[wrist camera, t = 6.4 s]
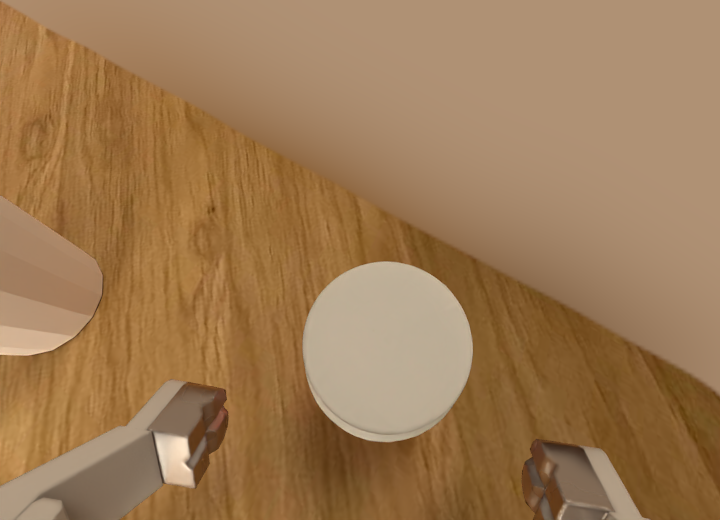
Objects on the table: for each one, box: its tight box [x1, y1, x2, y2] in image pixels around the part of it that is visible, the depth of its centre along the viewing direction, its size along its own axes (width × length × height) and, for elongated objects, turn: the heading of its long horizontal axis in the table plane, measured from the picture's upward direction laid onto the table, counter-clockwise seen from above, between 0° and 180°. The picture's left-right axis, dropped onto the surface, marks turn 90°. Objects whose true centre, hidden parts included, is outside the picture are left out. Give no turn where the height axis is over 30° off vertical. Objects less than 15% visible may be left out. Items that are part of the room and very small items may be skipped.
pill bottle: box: [303, 262, 473, 442], centre depth 12 cm, size 5×5×8 cm
